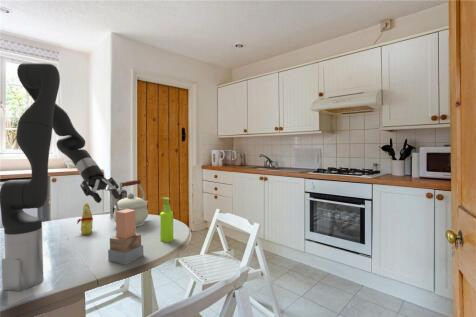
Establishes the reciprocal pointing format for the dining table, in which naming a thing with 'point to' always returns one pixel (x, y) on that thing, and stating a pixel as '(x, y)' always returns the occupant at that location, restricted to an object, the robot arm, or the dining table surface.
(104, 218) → the dining table surface
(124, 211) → the pillar
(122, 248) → the tower top
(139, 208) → the kettle
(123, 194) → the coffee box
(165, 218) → the soap dispenser
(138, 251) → the tower base
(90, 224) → the chocolate bunny
